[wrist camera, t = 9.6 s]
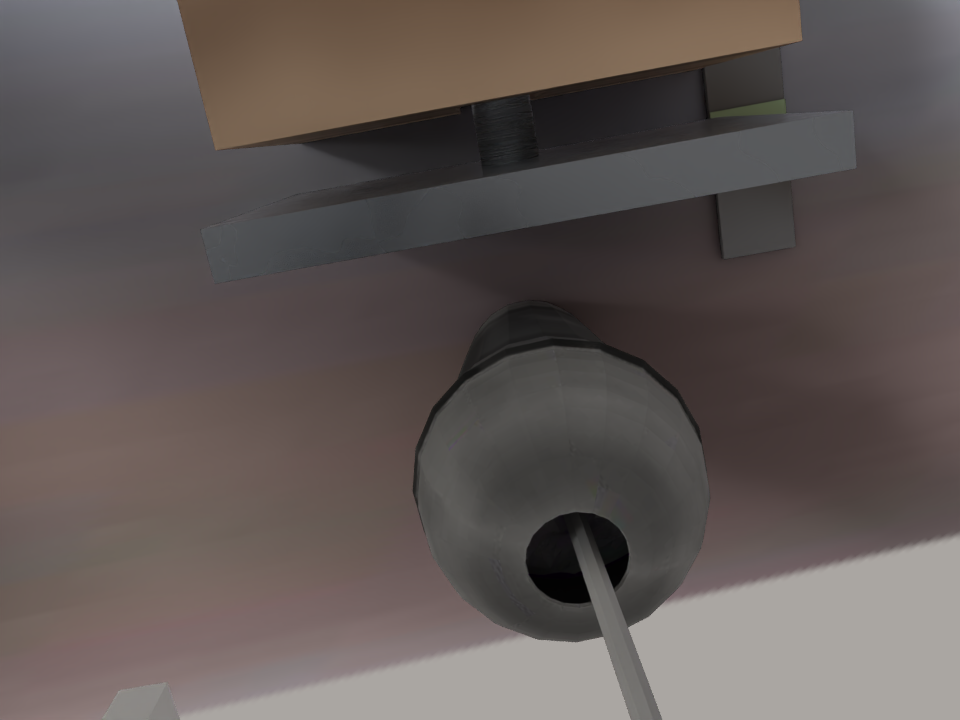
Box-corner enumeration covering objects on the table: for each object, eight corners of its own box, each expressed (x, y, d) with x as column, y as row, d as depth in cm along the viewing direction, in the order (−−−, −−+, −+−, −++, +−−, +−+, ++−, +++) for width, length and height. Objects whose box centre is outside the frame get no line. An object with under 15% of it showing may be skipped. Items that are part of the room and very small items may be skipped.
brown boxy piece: (792, 245, 31) (937, 298, 21) (341, 325, 31) (281, 412, 22) (764, -104, 28) (919, -229, 18) (265, -8, 28) (157, -77, 19)
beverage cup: (544, 222, 30) (661, 383, 11) (665, 369, 32) (952, 735, 13) (394, 347, 32) (268, 687, 12) (517, 483, 33) (574, 975, 14)
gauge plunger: (777, 144, 27) (942, 152, 18) (304, 230, 28) (214, 284, 18) (749, -201, 25) (924, -411, 15) (227, -97, 25) (76, -236, 16)
